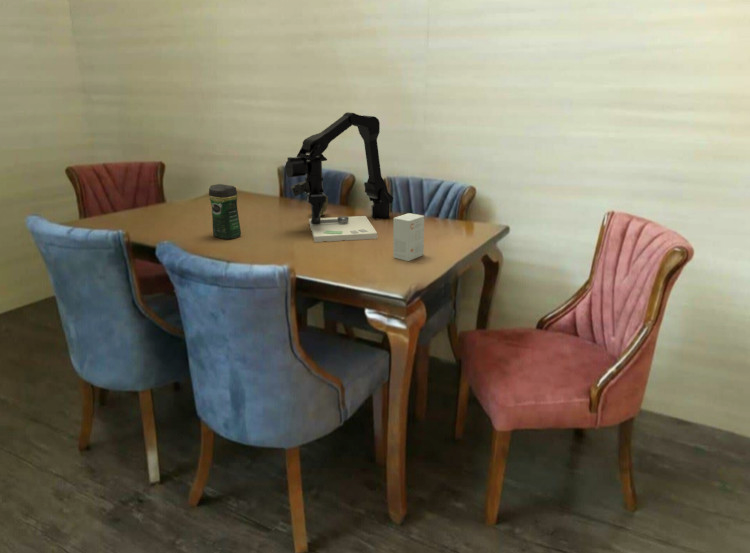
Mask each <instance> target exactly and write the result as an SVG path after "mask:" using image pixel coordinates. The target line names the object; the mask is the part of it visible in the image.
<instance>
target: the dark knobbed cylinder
mask: <svg viewBox="0 0 750 553" xmlns="http://www.w3.org/2000/svg"><path fill="white" fill-rule="evenodd" d="M310 210H311V213H310V214H311V219H312V220H311V224H320V223H348V222H349V217H350V216H345V215H341V216H338V219H329V220H320V218H321V217H320V214H319V216H318V218H315V216H314V212H313V207H312V205H311V204H310Z"/></svg>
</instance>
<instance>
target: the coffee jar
mask: <svg viewBox="0 0 750 553" xmlns="http://www.w3.org/2000/svg"><path fill="white" fill-rule="evenodd" d="M238 196H239V195H238V190H237V188H236V186H234V185H228V184H222V183H218V184H212V185H210V186H209V189H208V197H209V198H208V199H209V201H210V206H211V216H212V235H213V236H214V237H215V238H217V239H222V238H223V239H224V240H228V239H237V238H238V237H240V236H241V235H242V232H241V229H242V228H241V225H240V224H241V223H240V217H239V212H238ZM236 237H237V238H236Z"/></svg>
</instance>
